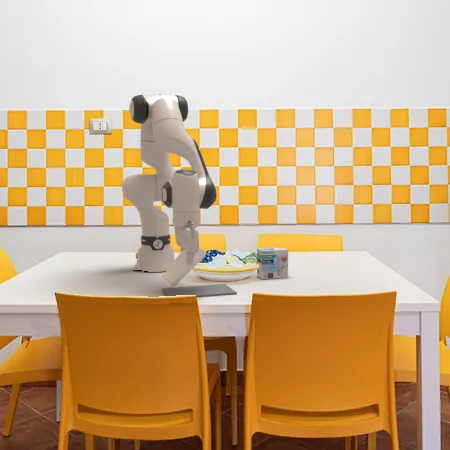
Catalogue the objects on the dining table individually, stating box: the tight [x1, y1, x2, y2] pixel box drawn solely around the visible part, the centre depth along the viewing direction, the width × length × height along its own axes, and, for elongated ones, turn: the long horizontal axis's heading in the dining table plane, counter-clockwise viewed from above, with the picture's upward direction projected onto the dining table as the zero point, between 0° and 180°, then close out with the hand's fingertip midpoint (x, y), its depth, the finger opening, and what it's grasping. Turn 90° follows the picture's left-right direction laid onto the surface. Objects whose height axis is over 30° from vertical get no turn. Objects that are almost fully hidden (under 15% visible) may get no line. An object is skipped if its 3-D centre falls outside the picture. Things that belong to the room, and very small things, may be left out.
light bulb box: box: [256, 246, 289, 280], centre depth 195 cm, size 11×7×11 cm, turn 101°
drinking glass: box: [162, 246, 207, 287], centre depth 169 cm, size 7×7×15 cm
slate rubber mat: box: [161, 283, 238, 298], centre depth 171 cm, size 14×22×1 cm, turn 106°
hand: (187, 262), depth 169 cm, fingers closed on drinking glass, 6 cm apart
